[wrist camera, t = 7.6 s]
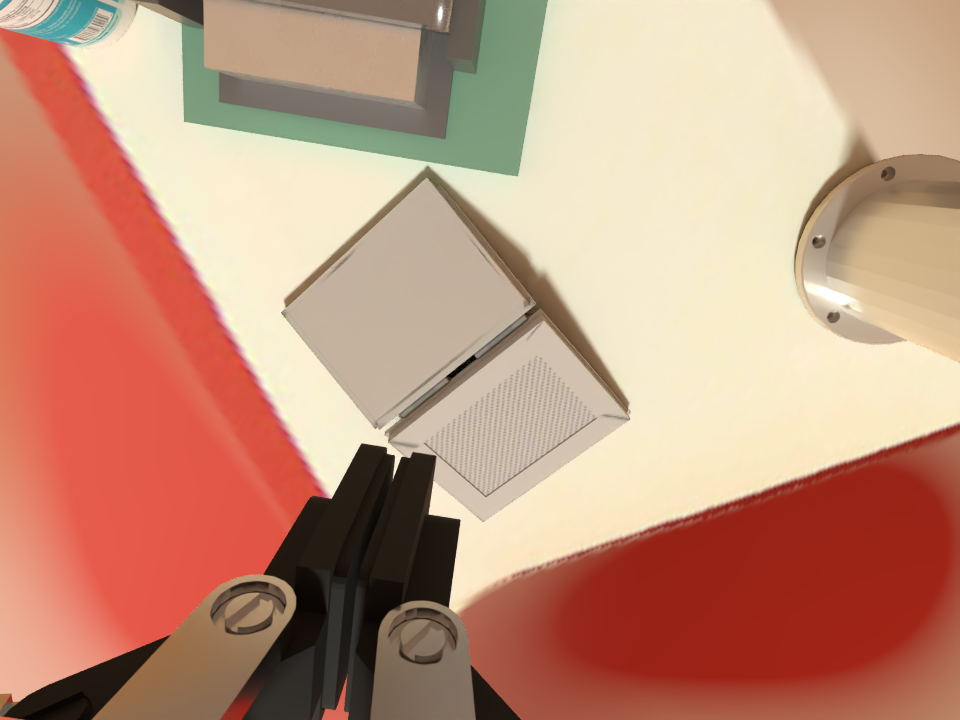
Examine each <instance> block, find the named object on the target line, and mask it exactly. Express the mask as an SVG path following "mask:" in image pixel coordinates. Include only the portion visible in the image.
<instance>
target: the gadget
mask: <svg viewBox="0 0 960 720" xmlns="http://www.w3.org/2000/svg"><path fill="white" fill-rule="evenodd" d="M536 304H537V303H536V302H535V301H534V300H533V298H532V297H531V296H530V294H529V293H528V292H527V291H526V289H525V288H524V287H523V286H522V284H521V283H520V282H519V281H518V279H517V278H516V277H515V276H514V274H513V273H512V272H511V271H510V269H509V268H508V267H507V266H506V264H505V263H504V262H503V261H502V259H501V258H500V257H499V256H498V254H497V253H496V252H495V251H494V249H493V248H492V247H491V246H490V244H489V243H488V242H487V241H486V239H485V238H484V237H483V236H482V234H481V233H480V232H479V231H478V229H477V228H476V227H475V226H474V224H473V223H472V222H471V221H470V219H469V218H468V217H467V216H466V214H465V213H464V212H463V210H462V209H461V208H460V207H459V206H458V204H457V203H456V202H455V201H454V200H453V198H452V197H451V196H450V195H449V194H448V192H447V191H446V190H445V189H444V188H443V186H442V185H441V184H439V185H437V186H435V185H434V183H433V182H432V181H431V180H430V179H429V178H427V177H426V178H425V179H424V180H423V181H422V182H421V183H420V184H419V185H418V186H417V187H416V188H415V189H414V190H412V191H411V192H410V193H409V194H408V195H407V196H406V197H405V198H404V199H403V200H402V201H401V202H400V203H399V204H397V205H396V206H395V207H394V208H393V209H392V210H391V211H390V212H389V213H388V214H387V215H386V216H385V217H383V218H382V219H381V220H380V221H379V222H378V223H377V224H376V225H375V226H374V227H373V228H372V229H371V230H369V231H368V232H367V233H366V234H365V235H364V236H363V237H362V238H361V239H360V240H359V241H358V242H357V243H355V244H354V245H353V246H352V247H351V248H350V249H349V250H348V251H347V252H346V253H345V254H344V255H343V256H342V257H340V258H339V259H338V260H337V261H336V262H335V263H334V264H333V265H332V266H331V267H330V268H329V269H328V270H326V271H325V272H324V273H323V274H322V275H321V276H320V277H319V278H318V279H317V280H316V281H315V282H314V283H312V284H311V285H310V286H309V287H308V288H307V289H306V290H305V291H304V292H303V293H302V294H301V295H300V296H298V297H297V298H296V299H295V300H294V301H293V302H292V303H291V304H290V305H289V306H288V307H287V308H286V309H284V310H283V311H282V312H281V313H282V315H283V316H284V317H285V318H286V320H287V321H288V322H289V323H290V325H291V326H292V327H293V328H294V330H295V331H296V332H297V333H298V334H299V336H300V337H301V338H302V339H303V341H304V342H305V343H306V344H307V346H308V347H309V348H310V349H311V350H312V352H313V353H314V354H315V355H316V357H317V358H318V359H319V360H320V362H321V363H322V364H323V365H324V366H325V368H326V369H327V370H328V371H329V373H330V374H331V375H332V376H333V378H334V379H335V380H336V381H337V382H338V384H339V385H340V386H341V387H342V389H343V390H344V391H345V392H346V394H347V395H348V396H349V397H350V399H351V400H352V401H353V402H354V403H355V405H356V406H357V407H358V408H359V410H360V411H361V412H362V413H363V415H364V416H365V417H366V418H367V419H368V421H369V422H370V423H371V424H372V426H373V427H374V428H375V429H376V428H377V427H378V428H379V430H380V429H381V428H382V427H383V426H385V425H386V424H387V423H388V422H390V421H391V420H392V419H393V418H395V417H396V416H397V415H398V414H400V415H401V416H402V417H403V418H402V419H400V420H399V421H398V422H397V423H395V424H394V425H393V426H392V427H390V428H389V429H388V430H387V431H385V436H386V437H388V438H389V440H388V443H390V444H391V445H392V446H393V447H394V448H396V449H397V450H398V451H399V452H400V453H402V454H403V455H404V456H405V457H408V458H410V457H411V454H412V452H418V453H424V454H430V455H436V456H437V458H436V466H435V473H434V479H433V480H434V481H435V482H436V483H437V484H439V485H440V486H441V487H442V488H443V489H444V490H446V491H447V492H448V493H449V494H450V495H452V496H453V497H454V498H455V499H456V500H458V501H459V502H460V503H461V504H462V505H464V506H465V507H466V508H467V509H468V510H470V511H471V512H472V513H473V514H474V515H476V516H477V517H478V518H479V519H480V520H481V521H483V522H484V521H485V520H487V519H488V518H490V517H491V516H493V515H494V514H495V513H497V512H498V511H500V510H501V509H503V508H504V507H505V506H507V505H508V504H510V503H511V502H513V501H514V500H516V499H517V498H518V497H520V496H521V495H523V494H524V493H526V492H527V491H528V490H530V489H531V488H533V487H534V486H536V485H537V484H538V483H540V482H541V481H543V480H544V479H546V478H547V477H548V476H550V475H551V474H553V473H554V472H556V471H557V470H559V469H560V468H561V467H563V466H564V465H566V464H567V463H569V462H570V461H571V460H573V459H574V458H576V457H577V456H579V455H580V454H581V453H583V452H584V451H586V450H587V449H589V448H590V447H592V446H593V445H594V444H596V443H597V442H599V441H600V440H602V439H603V438H604V437H606V436H607V435H609V434H610V433H612V432H613V431H614V430H616V429H617V428H619V427H620V426H622V425H623V424H624V423H626V422H627V421H629V420H630V417H629V416H628V414H630V413H631V412H630V411H629V410H628V409H627V408H626V406H625V405H624V404H623V403H622V402H621V400H620V399H619V398H618V397H617V396H616V394H615V393H614V392H613V391H612V390H611V388H610V387H609V386H608V385H607V384H606V383H605V382H604V380H603V379H602V378H601V377H600V376H599V375H598V374H597V372H596V371H595V370H594V369H593V368H592V367H591V366H590V364H589V363H588V362H587V361H586V360H585V359H584V357H583V356H582V355H581V354H580V353H579V352H578V351H577V349H576V348H575V347H574V346H573V345H572V344H571V343H570V341H569V340H568V339H567V338H566V337H565V336H564V335H563V333H562V332H561V331H560V330H559V329H558V328H557V326H556V325H555V324H554V323H553V322H552V321H551V320H550V318H549V317H548V316H547V315H546V314H545V313H544V312H543V310H542V309H541V308H540V309H539V310H537V311H536V312H535V313H534V314H532V315H531V316H530V317H529V318H527V317H526V315H525V313H526V312H527V311H528V310H530V309H531V308H532V307H533V306H535V305H536ZM473 354H474V355H475V357H476V358H477V359H476V360H475V361H473V362H472V363H471V364H470V365H468V366H467V367H466V368H465V369H463V370H462V371H461V372H459V373H458V374H457V375H456V376H454V377H453V378H452V379H451V380H450V379H449V378H448V377H447V375H448V374H450V373H451V372H452V371H453V370H455V369H456V368H457V367H458V366H460V365H461V364H462V363H463V362H465V361H466V360H467V359H468V358H470V357H471V356H472V355H473Z"/></svg>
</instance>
